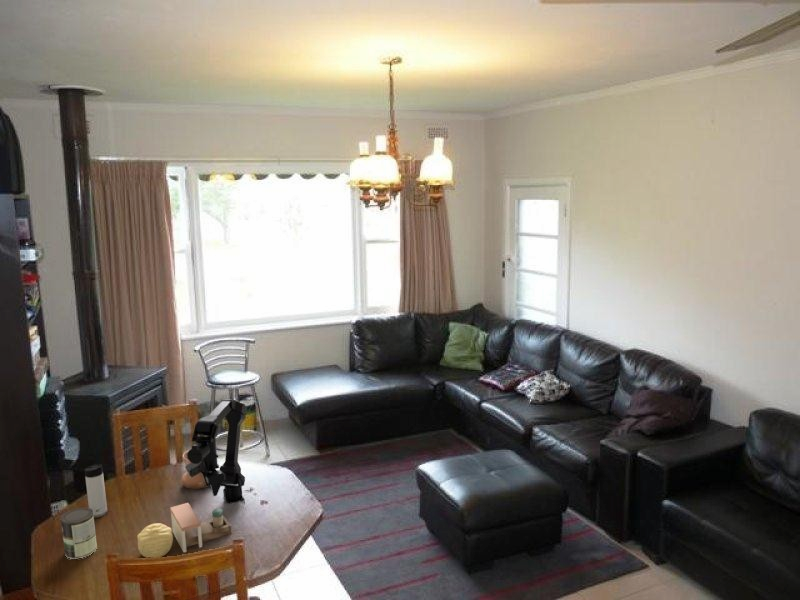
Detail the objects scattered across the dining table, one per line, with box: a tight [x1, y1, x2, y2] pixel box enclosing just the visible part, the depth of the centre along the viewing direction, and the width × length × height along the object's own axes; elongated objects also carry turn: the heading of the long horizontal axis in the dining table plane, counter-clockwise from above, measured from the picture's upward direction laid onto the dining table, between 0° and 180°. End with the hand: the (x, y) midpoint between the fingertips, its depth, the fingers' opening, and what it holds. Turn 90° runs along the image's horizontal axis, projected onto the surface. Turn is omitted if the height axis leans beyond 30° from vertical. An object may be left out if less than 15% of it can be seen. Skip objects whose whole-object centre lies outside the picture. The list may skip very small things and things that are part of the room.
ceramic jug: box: [181, 449, 209, 490], centre depth 273 cm, size 18×14×14 cm
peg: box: [211, 508, 224, 529], centre depth 236 cm, size 4×4×8 cm
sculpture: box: [136, 522, 174, 559], centre depth 222 cm, size 11×12×11 cm
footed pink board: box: [169, 502, 203, 553], centre depth 231 cm, size 6×17×10 cm, turn 32°
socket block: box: [185, 515, 233, 548], centre depth 234 cm, size 16×8×3 cm, turn 122°
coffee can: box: [60, 507, 98, 560], centre depth 224 cm, size 10×10×14 cm
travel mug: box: [84, 463, 108, 518], centre depth 249 cm, size 6×7×20 cm
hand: (211, 490), depth 241 cm, fingers open, 9 cm apart
